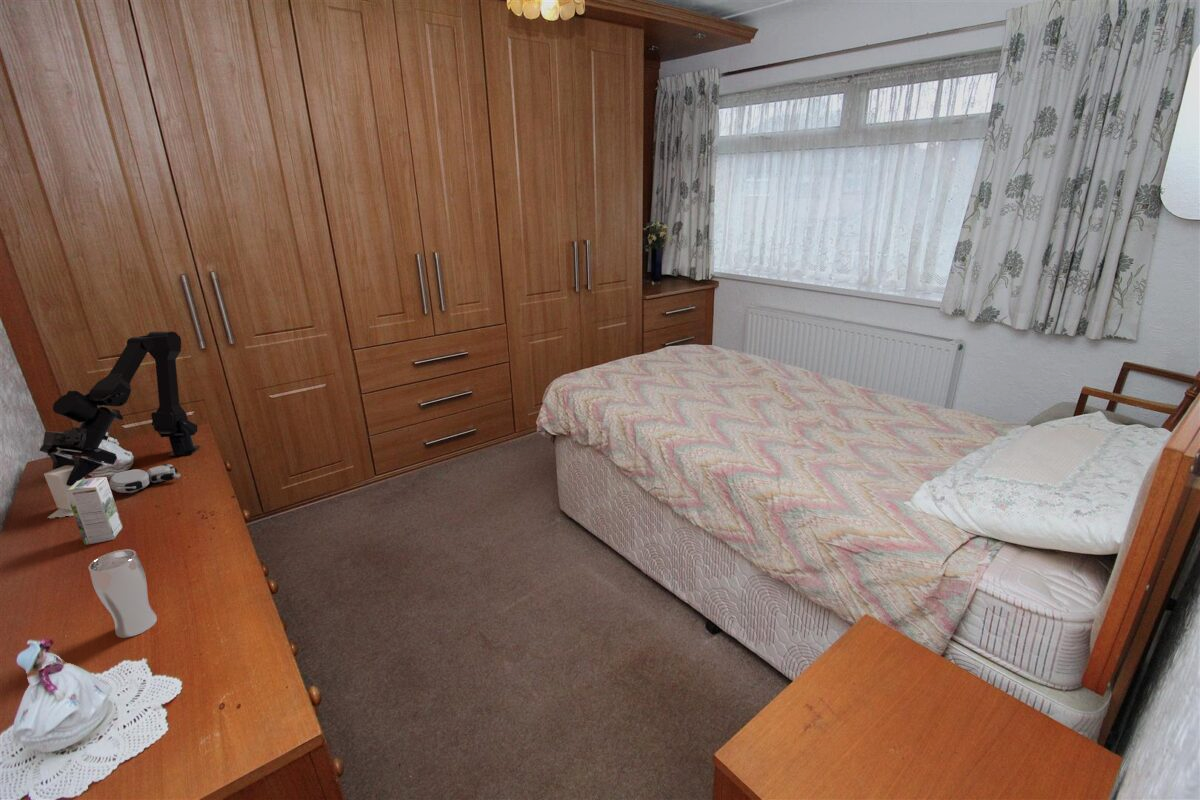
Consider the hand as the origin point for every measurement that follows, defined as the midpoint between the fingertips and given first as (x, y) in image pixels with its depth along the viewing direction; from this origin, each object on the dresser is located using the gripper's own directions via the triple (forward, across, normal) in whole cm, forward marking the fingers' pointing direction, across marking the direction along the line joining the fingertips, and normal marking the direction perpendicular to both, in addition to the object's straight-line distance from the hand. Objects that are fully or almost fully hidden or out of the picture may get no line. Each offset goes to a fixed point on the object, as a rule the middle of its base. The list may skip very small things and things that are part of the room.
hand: (60, 484), depth 138 cm
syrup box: (+11, +21, +1) cm, 24 cm away
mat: (+5, 0, +6) cm, 8 cm away
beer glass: (+26, +59, -14) cm, 66 cm away
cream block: (+4, 0, +6) cm, 7 cm away
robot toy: (-5, +5, +17) cm, 19 cm away
